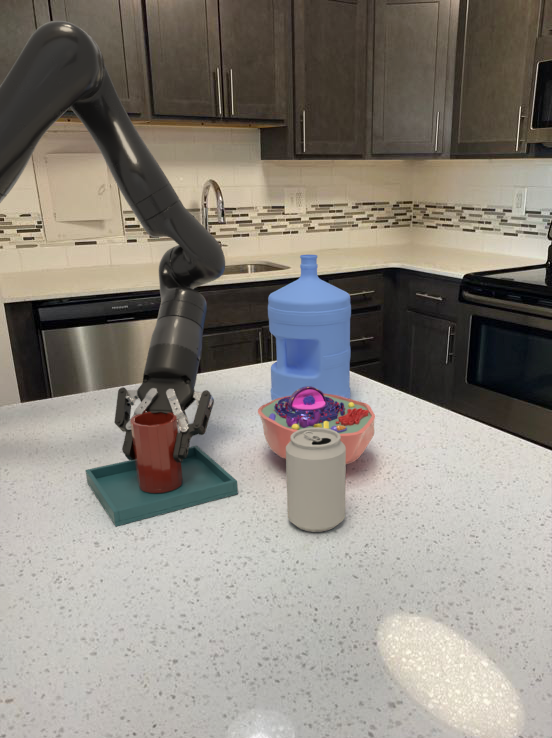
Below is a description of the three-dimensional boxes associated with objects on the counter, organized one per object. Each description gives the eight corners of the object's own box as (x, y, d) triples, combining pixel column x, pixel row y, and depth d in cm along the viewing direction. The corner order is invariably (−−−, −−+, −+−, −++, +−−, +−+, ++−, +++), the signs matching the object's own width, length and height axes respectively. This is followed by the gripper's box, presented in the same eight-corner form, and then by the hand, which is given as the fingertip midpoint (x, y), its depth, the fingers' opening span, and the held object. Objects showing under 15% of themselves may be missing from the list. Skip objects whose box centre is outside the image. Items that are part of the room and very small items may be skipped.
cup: (146, 497, 91) (138, 429, 87) (133, 480, 96) (125, 415, 92) (189, 486, 94) (183, 420, 90) (174, 470, 99) (168, 407, 95)
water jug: (320, 384, 141) (319, 249, 131) (366, 403, 129) (369, 256, 119) (256, 397, 133) (250, 254, 123) (298, 419, 121) (295, 263, 111)
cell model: (291, 498, 92) (289, 422, 88) (246, 447, 109) (243, 381, 105) (397, 476, 98) (400, 404, 94) (339, 431, 115) (339, 369, 111)
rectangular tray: (115, 526, 85) (113, 512, 84) (87, 482, 97) (85, 469, 96) (238, 494, 93) (237, 480, 93) (197, 457, 105) (196, 445, 105)
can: (317, 541, 81) (317, 451, 77) (275, 521, 86) (272, 435, 82) (357, 519, 86) (358, 433, 82) (314, 501, 91) (314, 419, 87)
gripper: (118, 340, 96) (93, 447, 89) (215, 342, 94) (196, 451, 87) (137, 365, 103) (114, 466, 96) (227, 368, 101) (210, 471, 94)
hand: (153, 459), depth 92 cm, fingers closed on cup, 6 cm apart
